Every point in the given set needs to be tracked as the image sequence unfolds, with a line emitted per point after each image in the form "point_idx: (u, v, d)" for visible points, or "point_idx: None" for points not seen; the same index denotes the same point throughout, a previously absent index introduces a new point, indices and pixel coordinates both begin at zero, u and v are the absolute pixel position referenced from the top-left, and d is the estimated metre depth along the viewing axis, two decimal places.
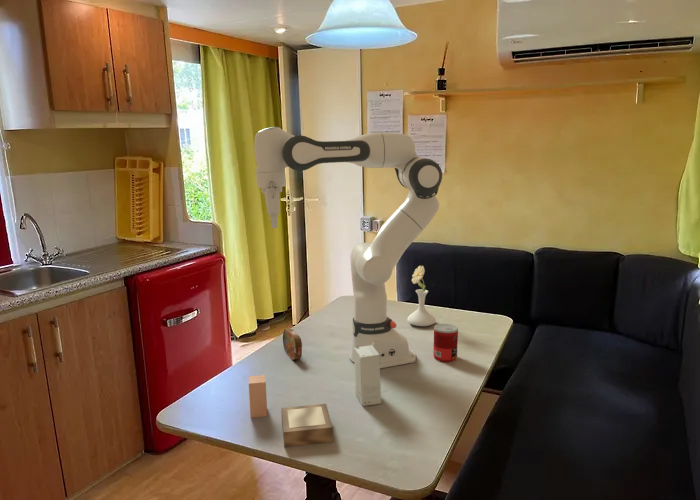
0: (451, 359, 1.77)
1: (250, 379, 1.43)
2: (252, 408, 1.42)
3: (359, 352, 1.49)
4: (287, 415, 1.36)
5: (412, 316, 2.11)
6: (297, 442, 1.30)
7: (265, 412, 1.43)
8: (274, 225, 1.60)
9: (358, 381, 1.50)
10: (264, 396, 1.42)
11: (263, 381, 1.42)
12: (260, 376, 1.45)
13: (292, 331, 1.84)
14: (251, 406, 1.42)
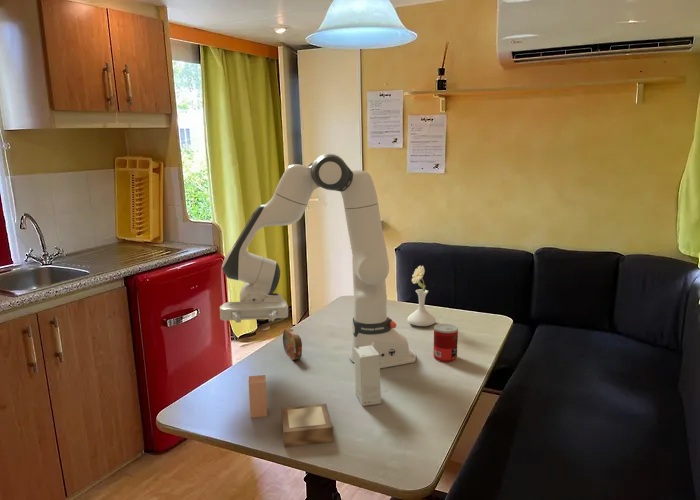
0: (451, 359, 1.77)
1: (250, 379, 1.43)
2: (252, 408, 1.42)
3: (359, 352, 1.49)
4: (287, 415, 1.36)
5: (412, 316, 2.11)
6: (297, 442, 1.30)
7: (265, 412, 1.43)
8: (235, 319, 1.52)
9: (358, 381, 1.50)
10: (264, 396, 1.42)
11: (263, 381, 1.42)
12: (260, 376, 1.45)
13: (292, 331, 1.84)
14: (251, 406, 1.42)
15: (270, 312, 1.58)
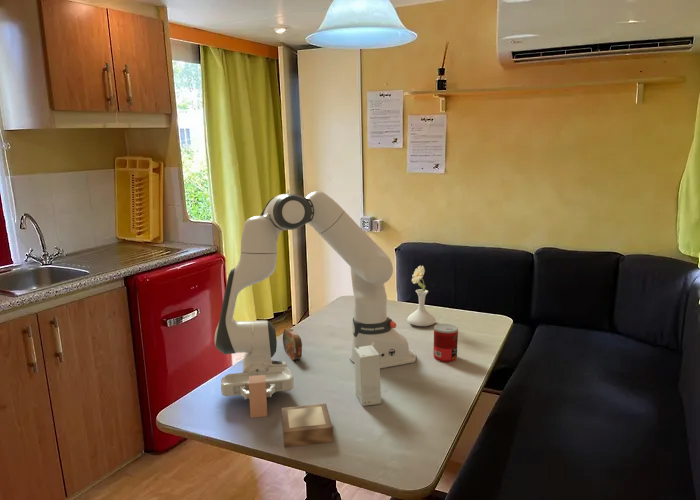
0: (451, 359, 1.77)
1: (250, 379, 1.43)
2: (252, 408, 1.42)
3: (359, 352, 1.49)
4: (287, 415, 1.36)
5: (412, 316, 2.11)
6: (297, 442, 1.30)
7: (265, 412, 1.43)
8: (244, 395, 1.44)
9: (358, 381, 1.50)
10: (264, 396, 1.42)
11: (263, 381, 1.42)
12: (260, 376, 1.45)
13: (292, 331, 1.84)
14: (251, 406, 1.42)
15: (268, 385, 1.49)
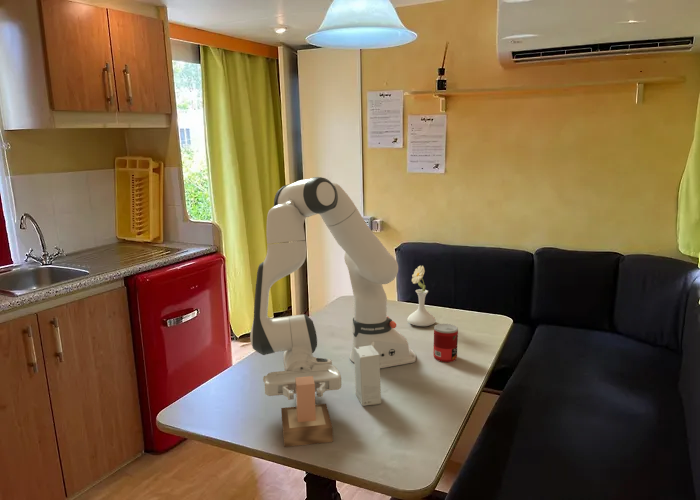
0: (451, 359, 1.77)
1: (297, 381, 1.33)
2: (300, 412, 1.32)
3: (359, 352, 1.49)
4: (287, 415, 1.36)
5: (412, 316, 2.11)
6: (297, 442, 1.30)
7: (313, 416, 1.33)
8: (287, 395, 1.33)
9: (358, 381, 1.50)
10: (313, 399, 1.32)
11: (312, 383, 1.32)
12: (307, 377, 1.35)
13: None
14: (299, 410, 1.32)
15: (317, 384, 1.38)
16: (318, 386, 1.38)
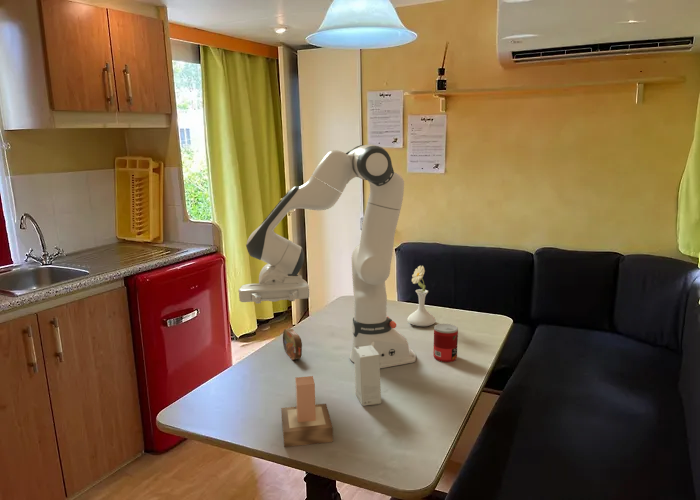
0: (451, 359, 1.77)
1: (297, 381, 1.33)
2: (300, 412, 1.32)
3: (359, 352, 1.49)
4: (287, 415, 1.36)
5: (412, 316, 2.11)
6: (297, 442, 1.30)
7: (313, 416, 1.33)
8: (255, 299, 1.47)
9: (358, 381, 1.50)
10: (313, 399, 1.32)
11: (312, 383, 1.32)
12: (307, 377, 1.35)
13: (292, 331, 1.84)
14: (299, 410, 1.32)
15: (291, 292, 1.53)
16: None
